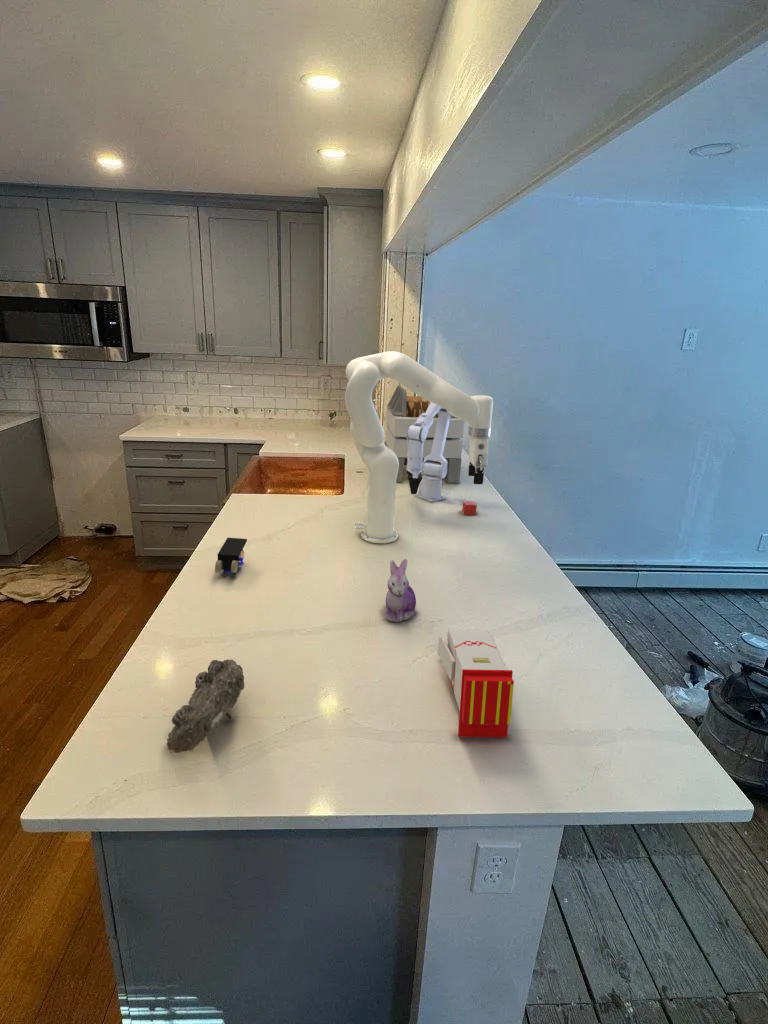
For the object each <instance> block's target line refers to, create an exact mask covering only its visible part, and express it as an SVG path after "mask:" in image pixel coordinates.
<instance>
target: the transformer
mask: <svg viewBox="0 0 768 1024" xmlns="http://www.w3.org/2000/svg"><path fill="white" fill-rule="evenodd" d="M407 394H408V393H407V390H406V389H404V388H403V387H402V385H401V384H400V385H399V384H398V385H397V386H396V388H395V390H394V392H393V394H392V395H391V398H390V400H389V402H388V404H387V405H386V413H385V414H386V415H385V423H386V428H385V437H384V444H385V446H387V447H388V448H389V449H391V450H392V451H393V452H394V453H395V454H396V456H397V458H398V461H399V470H398V475H397V480H396V483H402V482H403V475H404V469H405V466H407V461H408V444H407V438H406V433H407V429H408V427H409V426H411V425H414V423H415V422H416V421H417V419H418V418H419V416H420V415H421V414H422V413H425V412H426V410H427V409H428V407H429V405H430V401H427V400H426V399H424V398H422V397H420V396H419V395H417V396H415V395H414V396H413V395H412V396H411V395H407ZM437 421H438V414H436V415H435V416H434V417H433V423H432V425H431V426H430V428H429V429H428V434H427V437H426V440H425V441H424V445H423V460H422V463H423V461H424V458H425V457H426V456H428V455H429V454H431V450H432V445H433V440H434V436H435V431H436V426H437ZM464 429H465V421H462V420H460V419H458V418H456V417H454V416H451V418H450V422H449V427H448V431H447V436H446V441H445V446H444V451H443V457H444V458H445V459H446V460H447V462H448V464H447V474H446V476H445V478H444V479H445V481H446V482H447V483H449V484H455V483H456V484H459V483H461V472H462V461H463V460H462V453H463V442H464V441H463V440H462V439H463V438H464V431H465V430H464ZM431 462H435V461H431ZM435 463H440V462H435ZM440 464H441V463H440Z"/></svg>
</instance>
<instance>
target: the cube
mask: <svg viewBox="0 0 768 1024" xmlns="http://www.w3.org/2000/svg"><path fill="white" fill-rule="evenodd" d="M477 506H478V505H477V504H476V501H469V500H463V501H462V506H461V507H462V509H461V511H462V514H463V515H464V516H477Z"/></svg>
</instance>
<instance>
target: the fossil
mask: <svg viewBox="0 0 768 1024" xmlns="http://www.w3.org/2000/svg"><path fill="white" fill-rule="evenodd" d="M243 670H244V669H243V667H242V665H240V664H237V662H236V661H235V660H234V659H232V658H231V659H227V658H226V659H224V660H223V661H222V660H217V659H212V660H211V661H210V663H209V665H208V666H207V671H201V672H199V673H198V674H197V675H196V676H195V680H194V684H195V685H194V687H195V689H194V690H193V693H192V694H191V697H190V698H189V700H188V704H184V705H182V706H181V707H180V709H177V710H176V711H175V713H174V715H173V716H172V718H171V723H172V724H173V727H172V730H171V731H170V732H168V734H167V738H166V741H167V742H166V745H167V749H168V750H169V751H173V752H174V753H176V754H178V753H182V752H188V751H189V752H192V751H193V750H195V748H196V747H197V746H199V744H200V743H201V742H203V741H204V740H205V739H206V738H207V737H208V736H209V735H210V734H211V733H212V732H214V730H215V729H217V727H218V726H219V724H220V722H221V721H222V720H223V719H224V718H225V716H226V717H227V719H229V720H233V717H232V715H230V714H229V710H230V709H231V708H234V706H235V704H236V703H237V702H238V699H239V697H240V695H241V693H242V691H243V690H245V689H244V688H245V675H244V671H243Z"/></svg>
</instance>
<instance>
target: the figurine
mask: <svg viewBox="0 0 768 1024" xmlns="http://www.w3.org/2000/svg"><path fill="white" fill-rule="evenodd" d="M407 567H408V559H406V558H404V559H403V560H402V561H401V563H400V565H399V566H398V565H397V563H396V562H395V561H394V560H393V559H391V560H390V561H389V570H390V576H389V578H388V579H387V589H388V591H387V592H386V594H385V595H386V596H385V607H384V615H385V616H386V620H387V621H391V622H395V623H400V622H402V621H406V620H409V619H410V618H411V617H413V616H414V615H415V610H416V606H417V597H416V593H415V591H414V590H413V587H411V586H410V582H409V579H408V577H407V574H406V571H407Z"/></svg>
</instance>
